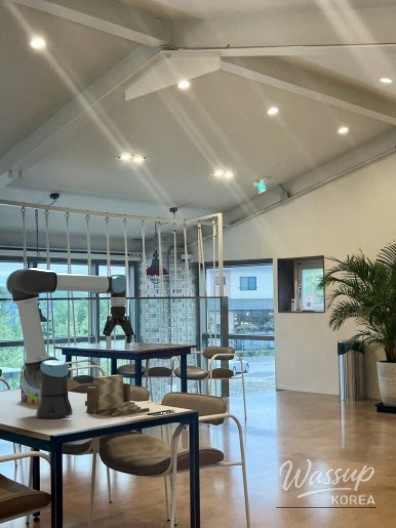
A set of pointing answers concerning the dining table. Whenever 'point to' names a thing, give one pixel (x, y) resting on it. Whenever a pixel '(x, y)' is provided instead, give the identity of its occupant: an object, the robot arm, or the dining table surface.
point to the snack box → (29, 392)
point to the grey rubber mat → (160, 412)
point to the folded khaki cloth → (109, 390)
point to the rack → (111, 412)
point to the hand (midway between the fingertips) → (117, 349)
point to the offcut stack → (126, 406)
